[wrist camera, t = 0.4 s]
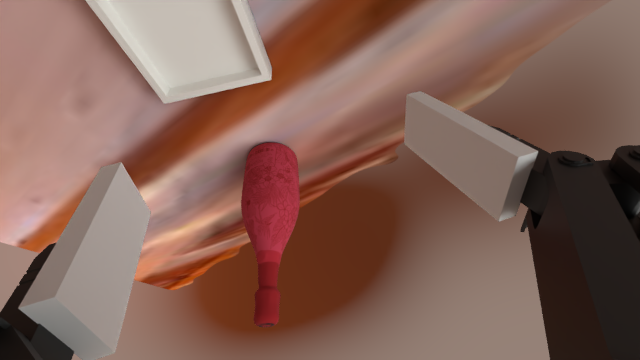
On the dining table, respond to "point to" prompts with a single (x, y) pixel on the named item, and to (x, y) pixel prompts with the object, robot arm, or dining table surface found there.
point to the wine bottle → (269, 218)
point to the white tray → (188, 44)
